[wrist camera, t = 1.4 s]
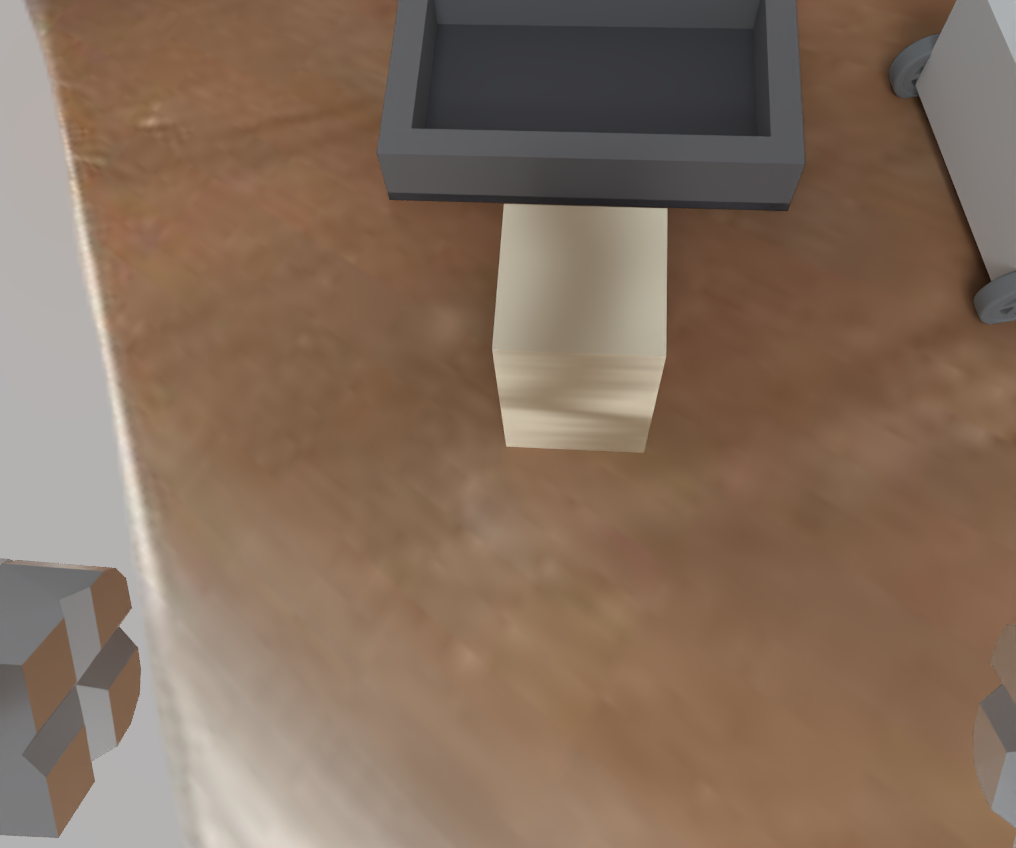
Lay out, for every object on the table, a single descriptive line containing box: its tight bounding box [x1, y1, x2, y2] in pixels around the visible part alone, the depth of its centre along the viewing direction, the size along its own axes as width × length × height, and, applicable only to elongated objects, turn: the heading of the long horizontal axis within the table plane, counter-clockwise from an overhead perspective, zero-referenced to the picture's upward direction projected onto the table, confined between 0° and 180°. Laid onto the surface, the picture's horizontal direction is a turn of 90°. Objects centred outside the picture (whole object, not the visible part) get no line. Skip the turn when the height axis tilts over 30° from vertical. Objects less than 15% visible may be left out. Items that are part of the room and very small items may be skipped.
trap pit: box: [377, 0, 805, 211], centre depth 40 cm, size 16×10×3 cm, turn 86°
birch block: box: [492, 204, 667, 453], centre depth 33 cm, size 5×5×8 cm
